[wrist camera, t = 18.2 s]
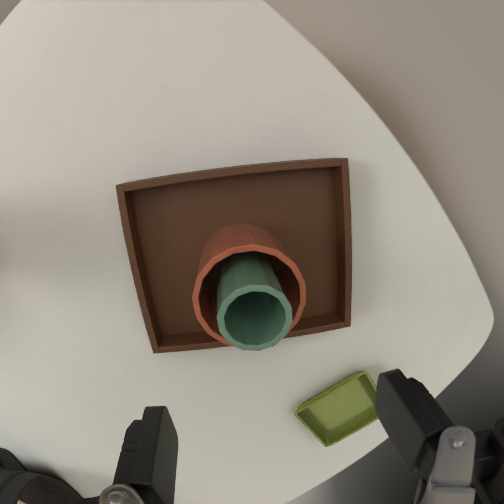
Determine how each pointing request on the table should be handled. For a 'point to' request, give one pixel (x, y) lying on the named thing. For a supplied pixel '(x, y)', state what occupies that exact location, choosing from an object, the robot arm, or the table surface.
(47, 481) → the dark grey hollow housing
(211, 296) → the tumbler
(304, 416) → the saucer
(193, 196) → the tray
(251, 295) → the small cup
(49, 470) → the table surface
